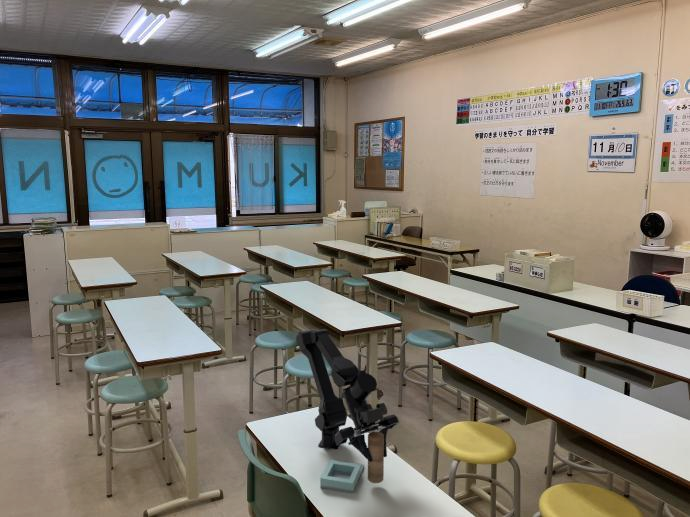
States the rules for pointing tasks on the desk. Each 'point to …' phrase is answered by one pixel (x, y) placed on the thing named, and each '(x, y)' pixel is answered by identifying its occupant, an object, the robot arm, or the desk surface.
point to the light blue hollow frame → (341, 476)
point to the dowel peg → (376, 457)
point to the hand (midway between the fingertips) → (378, 459)
